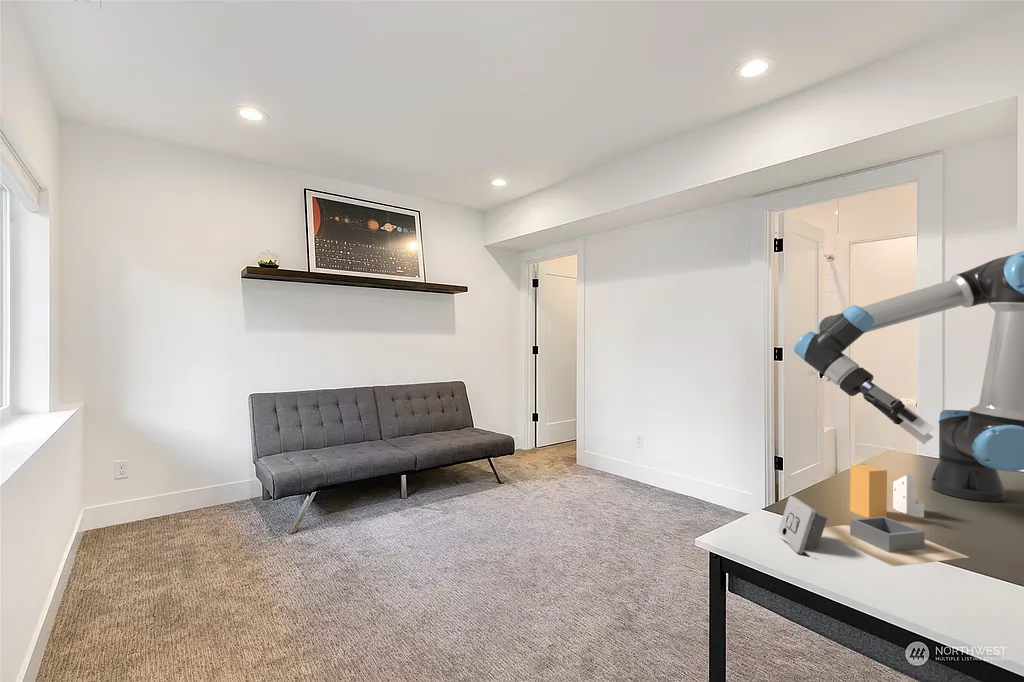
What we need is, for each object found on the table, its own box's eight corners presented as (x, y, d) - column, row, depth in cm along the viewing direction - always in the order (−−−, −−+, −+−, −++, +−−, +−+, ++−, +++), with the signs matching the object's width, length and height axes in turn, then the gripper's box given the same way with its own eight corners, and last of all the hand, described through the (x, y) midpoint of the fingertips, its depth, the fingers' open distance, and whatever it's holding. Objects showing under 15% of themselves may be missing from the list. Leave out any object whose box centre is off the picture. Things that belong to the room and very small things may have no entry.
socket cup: (883, 531, 105) (883, 516, 105) (924, 548, 97) (924, 531, 96) (850, 534, 103) (850, 519, 103) (888, 552, 95) (889, 535, 95)
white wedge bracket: (917, 512, 113) (906, 474, 117) (896, 520, 121) (886, 484, 125) (935, 513, 112) (924, 475, 116) (912, 521, 120) (902, 485, 125)
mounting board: (880, 526, 110) (880, 522, 110) (969, 562, 93) (969, 557, 93) (813, 532, 107) (813, 528, 107) (892, 571, 89) (892, 565, 89)
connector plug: (867, 513, 119) (867, 464, 119) (886, 521, 114) (887, 470, 114) (849, 514, 118) (850, 465, 118) (868, 522, 113) (869, 471, 113)
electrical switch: (776, 536, 105) (781, 494, 105) (801, 539, 105) (806, 497, 104) (797, 555, 96) (803, 509, 96) (825, 559, 95) (830, 513, 95)
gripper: (843, 396, 139) (915, 453, 126) (831, 374, 121) (914, 438, 107) (865, 378, 137) (940, 434, 124) (856, 353, 119) (944, 415, 106)
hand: (929, 436), depth 116 cm, fingers open, 13 cm apart
